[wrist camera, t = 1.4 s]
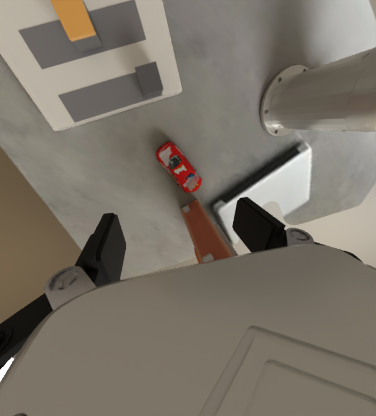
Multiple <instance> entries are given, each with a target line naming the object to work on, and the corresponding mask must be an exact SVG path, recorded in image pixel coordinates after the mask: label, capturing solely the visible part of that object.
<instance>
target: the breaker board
mask: <svg viewBox="0 0 376 416" xmlns="http://www.w3.org/2000/svg"><path fill="white" fill-rule="evenodd" d="M83 1H84V3H85V5H86V7H87V9H88V11H89V13H90V15H91V17H92V20H93V22H94V24H95V27H96V29H97V32H98V34H99V37H100V39H101V42H102V44H103V46H104V47H102V48H99V49H95V50H92V51H88V52H85V53H82V52H81V51H80V50H79V49H78V48H77V47H76V46H75V45H74V44H73V43H72V41H71V40H70V39H69V38H68V36H67V33H66V31H65V29H64V27H63V25H62V23H61V21H60V19H59V17H58V15H57V13H56V11H55V9H54V7H53V5H52V3H51V1H50V0H0V54H1V55H2V57H3V58H4V60H5V61H6V63H7V64H8V65H9V67H10V68H11V70H12V71H13V73H14V74H15V75H16V77H17V78H18V80H19V81H20V83H21V84H22V85H23V87H24V88H25V90H26V91H27V92H28V94H29V95H30V97H31V98H32V100H33V101H34V102H35V104H36V105H37V107H38V108H39V110H40V111H41V112H42V114H43V115H44V117H45V118H46V120H47V121H48V122H49V124H50V125H51V127H52V128H53V130H54V131H59V130H66V129H69V128H72V127H75V126H79V125H82V124H85V123H88V122H91V121H94V120H98V119H101V118H104V117H107V116H110V115H114V114H117V113H120V112H123V111H126V110H129V109H133V108H136V107H139V106H142V105H145V104H149V103H152V102H155V101H158V100H161V99H164V98H168V97H171V96H174V95H177V94H180V93H181V92H182V87H181V83H180V78H179V74H178V69H177V65H176V60H175V56H174V51H173V47H172V42H171V38H170V34H169V29H168V25H167V20H166V16H165V11H164V7H163V2H162V0H83Z"/></svg>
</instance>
